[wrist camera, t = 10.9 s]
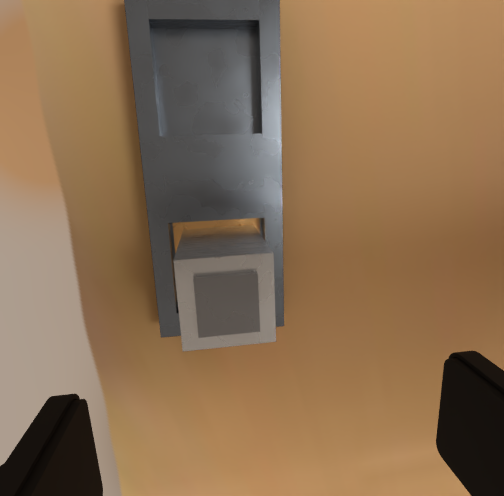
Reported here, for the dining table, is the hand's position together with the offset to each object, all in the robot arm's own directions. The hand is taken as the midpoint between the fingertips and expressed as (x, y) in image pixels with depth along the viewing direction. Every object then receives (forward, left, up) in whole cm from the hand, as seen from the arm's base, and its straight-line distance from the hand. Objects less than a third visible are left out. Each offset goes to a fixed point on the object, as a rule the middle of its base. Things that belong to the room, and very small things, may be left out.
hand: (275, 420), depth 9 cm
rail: (+1, -5, -19) cm, 19 cm away
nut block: (+1, +1, -17) cm, 17 cm away
